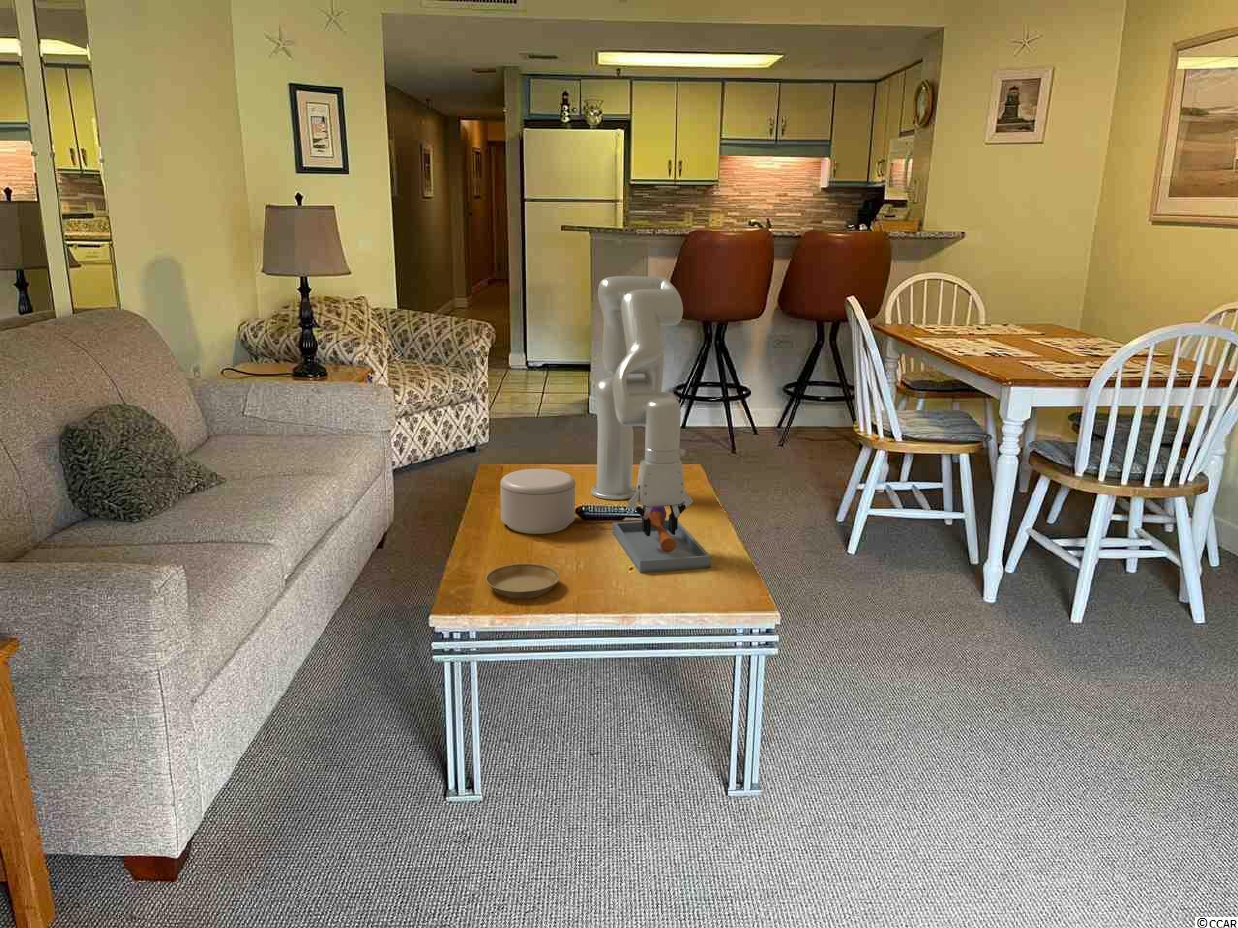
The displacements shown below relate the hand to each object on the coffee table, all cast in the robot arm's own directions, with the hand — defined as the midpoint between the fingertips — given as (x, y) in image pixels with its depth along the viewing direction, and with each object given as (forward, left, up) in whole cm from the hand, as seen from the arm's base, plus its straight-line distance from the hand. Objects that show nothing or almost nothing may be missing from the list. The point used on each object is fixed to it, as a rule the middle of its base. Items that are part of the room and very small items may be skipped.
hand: (659, 532), depth 208 cm
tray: (0, 0, -4) cm, 4 cm away
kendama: (0, 0, -1) cm, 1 cm away
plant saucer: (+16, -33, -5) cm, 37 cm away
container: (-23, -24, -4) cm, 34 cm away
